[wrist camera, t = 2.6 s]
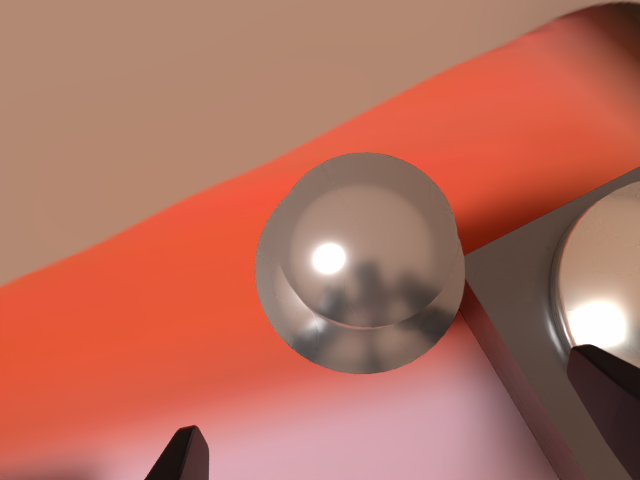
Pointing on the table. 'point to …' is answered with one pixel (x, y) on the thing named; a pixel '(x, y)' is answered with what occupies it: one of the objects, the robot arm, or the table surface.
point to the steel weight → (361, 264)
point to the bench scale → (561, 315)
